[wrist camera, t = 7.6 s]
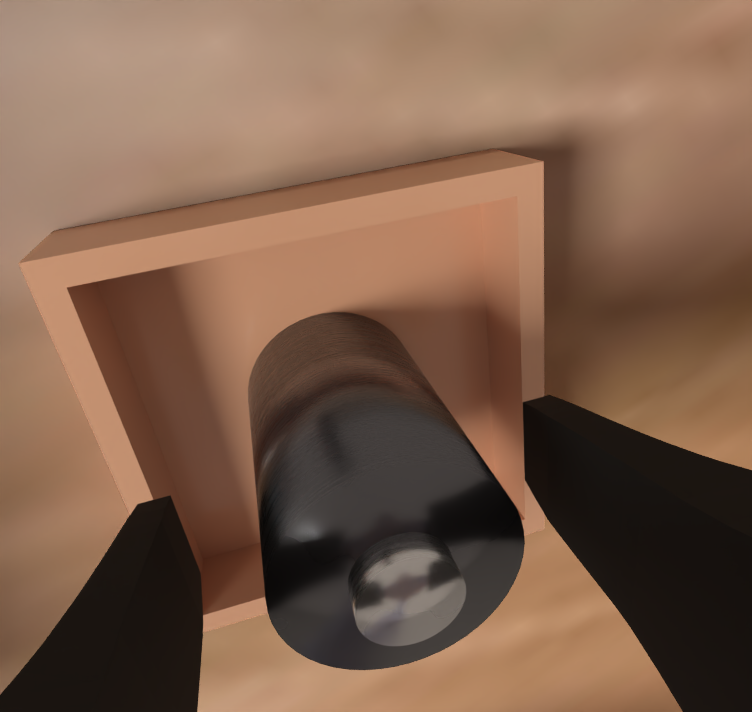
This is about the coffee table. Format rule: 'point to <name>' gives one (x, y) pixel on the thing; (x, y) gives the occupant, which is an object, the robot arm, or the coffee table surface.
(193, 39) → the coffee table surface
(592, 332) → the coffee table surface
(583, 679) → the coffee table surface
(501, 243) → the dish
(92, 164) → the coffee table surface
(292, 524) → the cell
